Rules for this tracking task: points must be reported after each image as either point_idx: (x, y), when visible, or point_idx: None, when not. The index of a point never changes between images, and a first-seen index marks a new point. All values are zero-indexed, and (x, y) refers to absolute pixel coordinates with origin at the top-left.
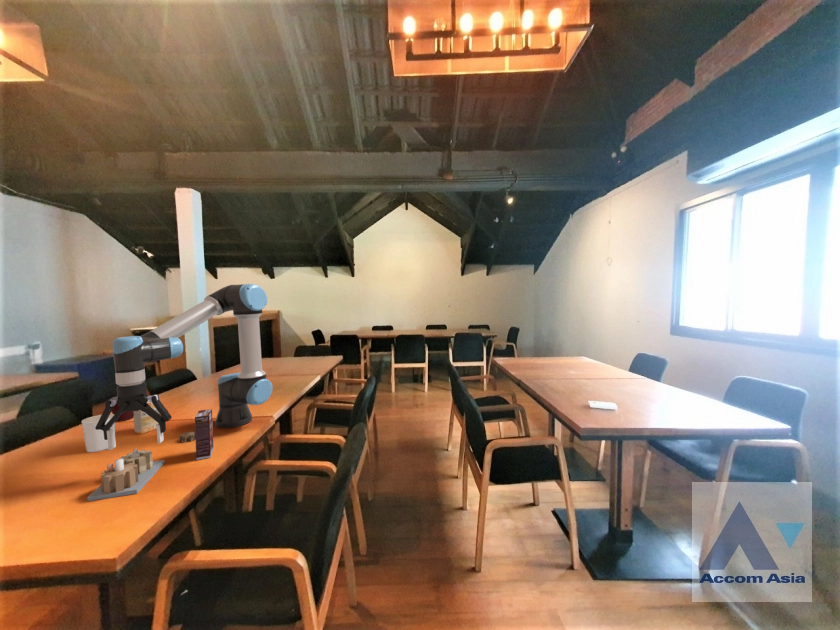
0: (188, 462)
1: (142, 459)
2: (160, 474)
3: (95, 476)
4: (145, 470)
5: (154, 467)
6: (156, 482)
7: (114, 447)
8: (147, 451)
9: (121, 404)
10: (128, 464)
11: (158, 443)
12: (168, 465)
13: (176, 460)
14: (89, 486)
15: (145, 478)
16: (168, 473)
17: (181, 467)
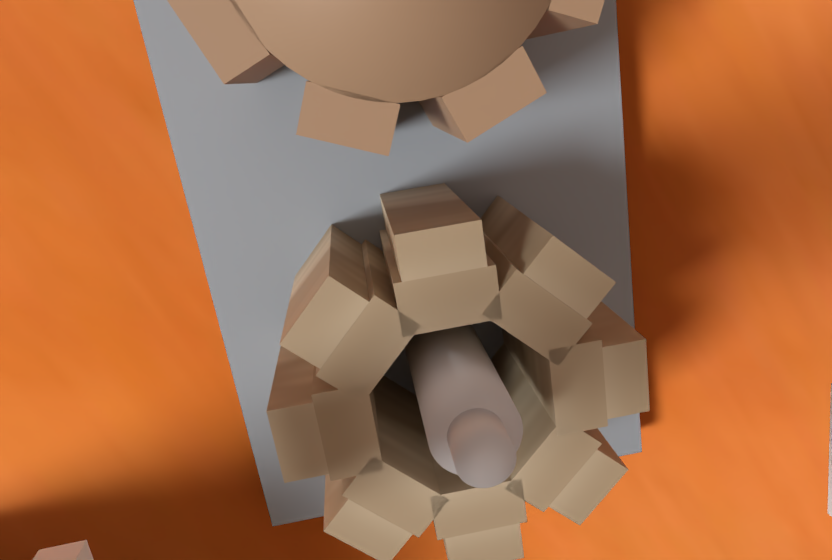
0: (5, 493)
1: (302, 302)
2: (142, 257)
3: (805, 313)
4: (297, 274)
5: (263, 362)
6: (48, 63)
7: (830, 476)
8: (375, 518)
9: None
10: (373, 102)
11: (72, 544)
12: (196, 450)
13: (184, 547)
14: (750, 108)
15: (180, 94)
16: (59, 267)
17: (3, 389)
